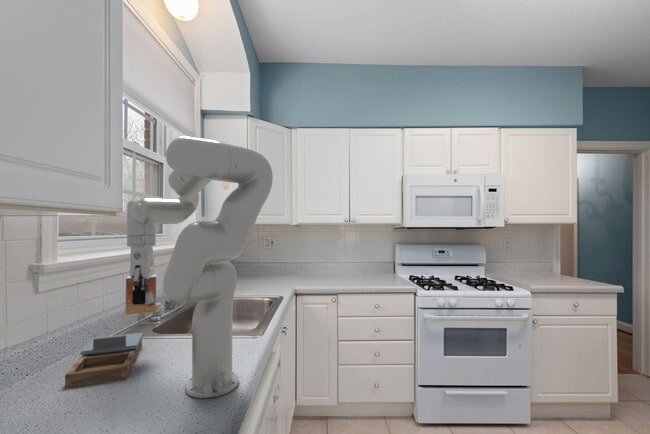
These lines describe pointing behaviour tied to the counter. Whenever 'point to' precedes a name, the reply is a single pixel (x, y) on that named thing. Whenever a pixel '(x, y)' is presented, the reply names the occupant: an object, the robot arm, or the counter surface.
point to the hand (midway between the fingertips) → (141, 300)
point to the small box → (149, 296)
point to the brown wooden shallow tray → (102, 367)
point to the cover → (112, 343)
